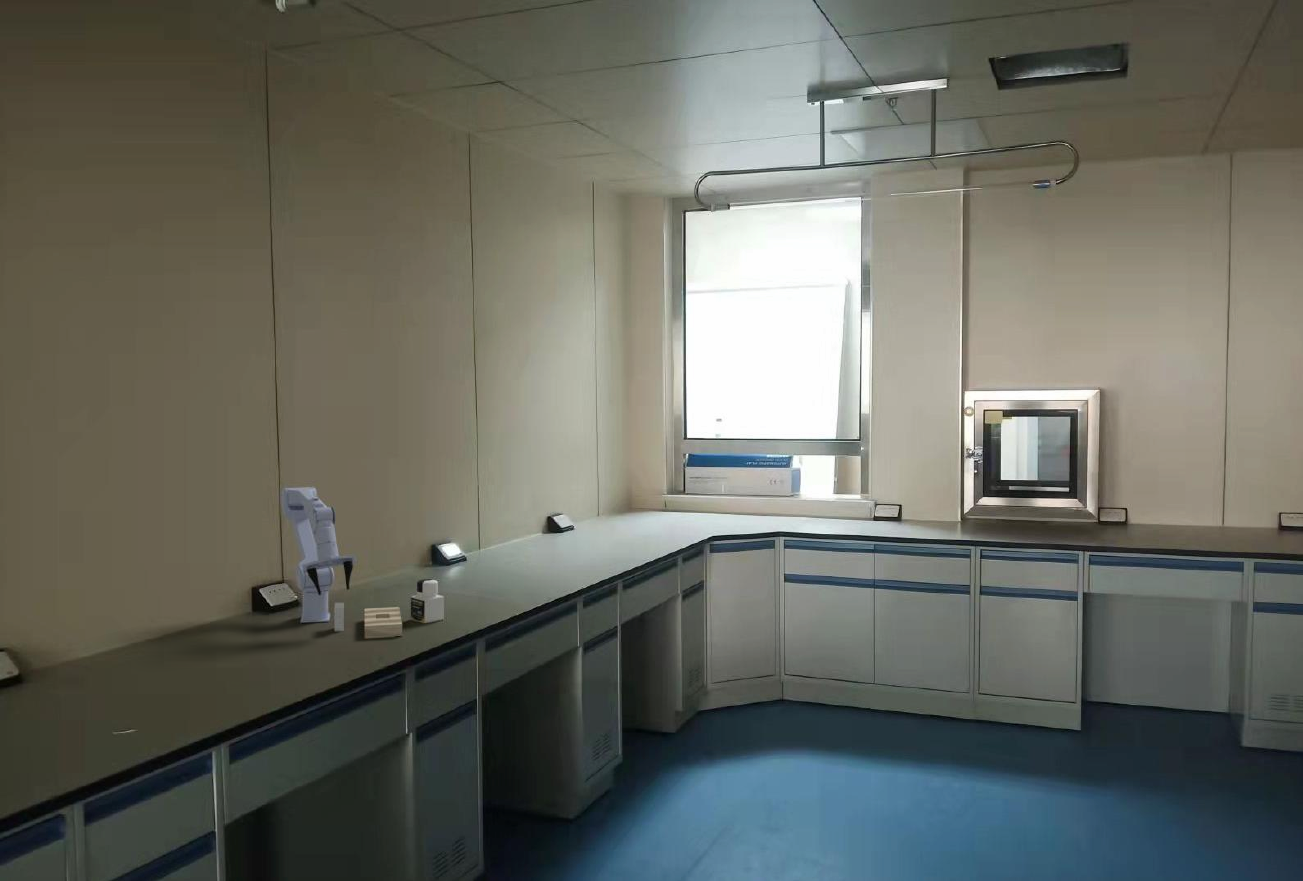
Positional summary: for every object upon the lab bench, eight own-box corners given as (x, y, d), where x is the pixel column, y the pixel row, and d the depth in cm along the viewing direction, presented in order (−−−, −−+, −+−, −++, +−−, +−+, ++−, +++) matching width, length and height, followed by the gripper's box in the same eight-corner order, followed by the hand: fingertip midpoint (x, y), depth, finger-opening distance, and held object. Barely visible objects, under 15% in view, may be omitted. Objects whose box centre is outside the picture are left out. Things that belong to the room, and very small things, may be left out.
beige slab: (364, 620, 298) (364, 608, 297) (399, 618, 300) (399, 607, 300) (364, 638, 276) (364, 625, 276) (402, 636, 279) (402, 623, 279)
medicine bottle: (410, 619, 299) (410, 579, 299) (430, 615, 305) (430, 576, 304) (424, 623, 295) (424, 583, 294) (444, 619, 300) (444, 580, 299)
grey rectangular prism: (335, 626, 289) (335, 602, 289) (343, 626, 290) (343, 602, 289) (334, 632, 282) (334, 608, 282) (343, 632, 283) (343, 607, 283)
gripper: (298, 546, 281) (305, 592, 276) (352, 536, 285) (359, 581, 280) (301, 554, 287) (307, 599, 282) (353, 545, 291) (360, 589, 286)
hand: (333, 591), depth 282 cm, fingers open, 7 cm apart
